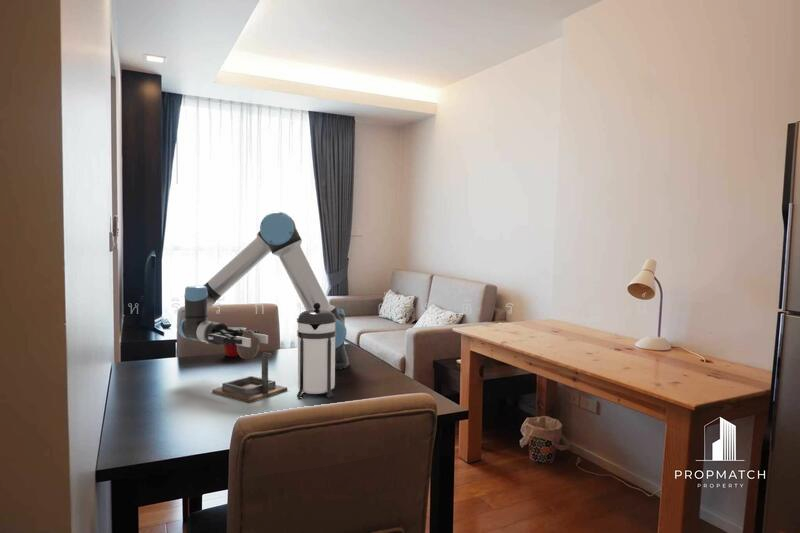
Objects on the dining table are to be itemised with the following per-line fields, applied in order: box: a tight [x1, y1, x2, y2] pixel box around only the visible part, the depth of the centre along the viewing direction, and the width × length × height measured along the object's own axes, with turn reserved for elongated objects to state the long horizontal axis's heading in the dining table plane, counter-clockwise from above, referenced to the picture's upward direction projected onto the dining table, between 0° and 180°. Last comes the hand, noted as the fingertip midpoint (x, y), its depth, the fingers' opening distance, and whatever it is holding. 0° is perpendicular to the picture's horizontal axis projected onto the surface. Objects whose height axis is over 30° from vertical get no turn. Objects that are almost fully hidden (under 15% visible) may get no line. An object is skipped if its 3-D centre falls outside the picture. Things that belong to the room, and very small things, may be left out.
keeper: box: [211, 351, 288, 404], centre depth 168 cm, size 16×18×14 cm
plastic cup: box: [223, 326, 247, 357], centre depth 221 cm, size 11×11×12 cm
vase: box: [237, 329, 260, 360], centre depth 168 cm, size 7×7×9 cm
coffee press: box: [296, 303, 337, 400], centre depth 168 cm, size 17×16×30 cm
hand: (258, 341), depth 165 cm, fingers closed on vase, 6 cm apart
